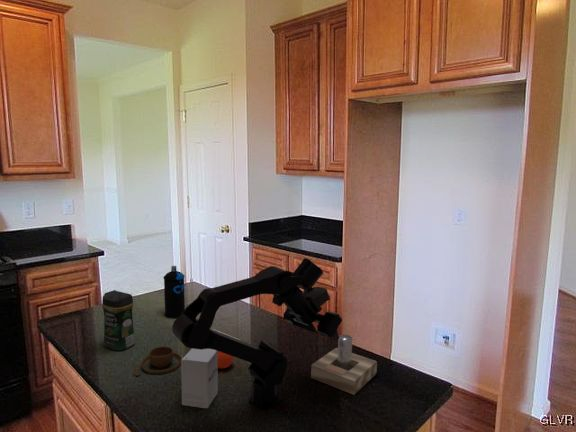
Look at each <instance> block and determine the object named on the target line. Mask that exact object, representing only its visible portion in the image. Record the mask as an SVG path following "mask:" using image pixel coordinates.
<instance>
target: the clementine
mask: <svg viewBox="0 0 576 432" xmlns="http://www.w3.org/2000/svg"><path fill="white" fill-rule="evenodd" d="M217 355H218V369H226V368H228V367H230V366H231V364H232V363H233V361H234V358H235V357H233V356H231V355H228V354H225V353H222V352H219V351H217Z"/></svg>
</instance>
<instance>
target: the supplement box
mask: <svg viewBox="0 0 576 432" xmlns="http://www.w3.org/2000/svg"><path fill="white" fill-rule="evenodd" d="M180 366H181V368H180V369H181V370H180V371H181V372H180V373H181V375H180V376H181V405H182V406H187V407H194V408H200V409H201V408H202V409H209V407H210V405H211V404H212V402H213V401H214V399H215V397H216V396H217V395H218V392H219V391H218V388H219V383H218V382H219V376H218V371H219V370H218V369H219V368H218V355H217V351H216V350H213V349H210V348H208V349H202V350H200V349H192V348H190V350H189V351H188V352H187V353H186V354H185V355H184V357H182V360H181V364H180Z"/></svg>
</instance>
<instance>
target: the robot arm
mask: <svg viewBox="0 0 576 432" xmlns="http://www.w3.org/2000/svg"><path fill="white" fill-rule="evenodd" d="M323 275H324V271H323V270H322V267H320V266H318V265H317V264H315V263H314V262H313V261H311V259H309V258H306V257H304V258H303V259H302V260H301V263H300V264H299V265H298V266H297V268H295V270H294V271H293V272H292V271H290V270H285V269H282V268H280V267H278V266H275V265H272V266H271V265H270V266H268V267H266V268H263V269H261V270H259V272H258V273H256V274H255V275H254V276H250V277H248V278H245V279H240V280H236V281H233V282H229V283H225V284H222V285H219V286H214V287H207V288H204V289H202V291H200V293H199V294H198V296H197V298H195V299H194V300H193V301H192V302H190V304H188V305H187V306H185V310H184V311H183V313H182V314H181V316H179V317H178V318H175V320H174V321H173V323H172V327H171V330H172V333H173V335H174V336H175V338H177V339H178V340H179V341H180V342H181V343H182V344H183V346H185V347H186V348H188V349H200V350H202V349H213V350H216V351H219V352H222V353H225V354H228V355H231V356H233V357H234V358H237V359H240V360H242V361H245V362H247V363H251V364H250V365H249V367H248V368H247V369H248V372H249V375H251V376H252V377H254V380H253V382H252V384H253V385H252V387H253V388H252V392H253V393H252V394H253V395H252V396H251V397H250V398H249V399H248V402H249V404H253V405H254V406H256V407H258V408H260V409H262V410H265V411H268V410H270V409H272V408H273V407H275V406H276V405H277V404H278V403H280V402H281V401H282V400H283V397H282V396H281V395H278V394H279V385H281V384H283V380H284V377H285V374H286V371H287V367H288V364H289V363H288V358H287V357H286V356H285V352H284V351H282V350H281V349H279V348H278V347H276V346H274V345H273V344H272V343H266V342H264V340H260V342H259V344H258V345H253V344H251V343H248V342H245V341H243V340H241V339H240V340H238V339H239V338H237V337H235V338H233V337H234V336H232V337H230V336H231V335H230V336H228V335H229V334H227V335H225V334H226V333H225V334H223V333H224V332H222V333H220V332H221V331H219V332H217V331H218V330H217V331H215V330H216V329H214V330H212V329H213V328H211V327H212V326H213V324H214V320H215V317H216V314H217V311H218V310H219V309H220V307H222V306H225V305H229V304H233V303H236V302H239V301H242V300H245V299H249V298H251V297H255V296H259V295H272V299H271V300H272V301H271V303H272V304H275V305H276V306H278V307H282V306H283V304H284V305H285V306H286V309H285V310H284V312H283V316H282V317H283V320H284V321H285V322H286V323H289V324H290V325H292V326H295V327H298V328H300V329H303V330H305V331H309V332H311V333H314V334H315V333H316V331H317V332H318V333H319V334H320V335H321V336H322V337H325V338H328V339H331V340H333V341H335V342H338V339H339V333H338V332H339V331H338V329H339V326H340V325H341V323H342V322H343V318H342V317H341V315H340V314H339V313H336V312H333V311H326V312H325V313H324V314H321V313H320V312H322V310H323V307H322V306H323V305H324V304H326V303H327V302H328V301H330V300H331V298H330V294H329V292H328V289H327V288H326V287H321V286H315V285H316V283H317V282H318V280H319V279H320V278H321V277H322V276H323ZM301 289H302V290H303V291H302V290H301ZM198 316H199V317H198ZM197 317H198V318H197ZM314 323H317V326H316V327H315V325H314ZM236 338H237V339H236Z"/></svg>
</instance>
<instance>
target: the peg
mask: <svg viewBox="0 0 576 432" xmlns="http://www.w3.org/2000/svg"><path fill="white" fill-rule="evenodd" d="M338 336H339V339H338V341H337V348H338V364H337V367H339V368H342V369H345V370H347V371H350V370H351V358H352V353H353V352H352V351H353V337H352V336H351V335H349V334H340V335H339V334H338Z"/></svg>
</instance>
